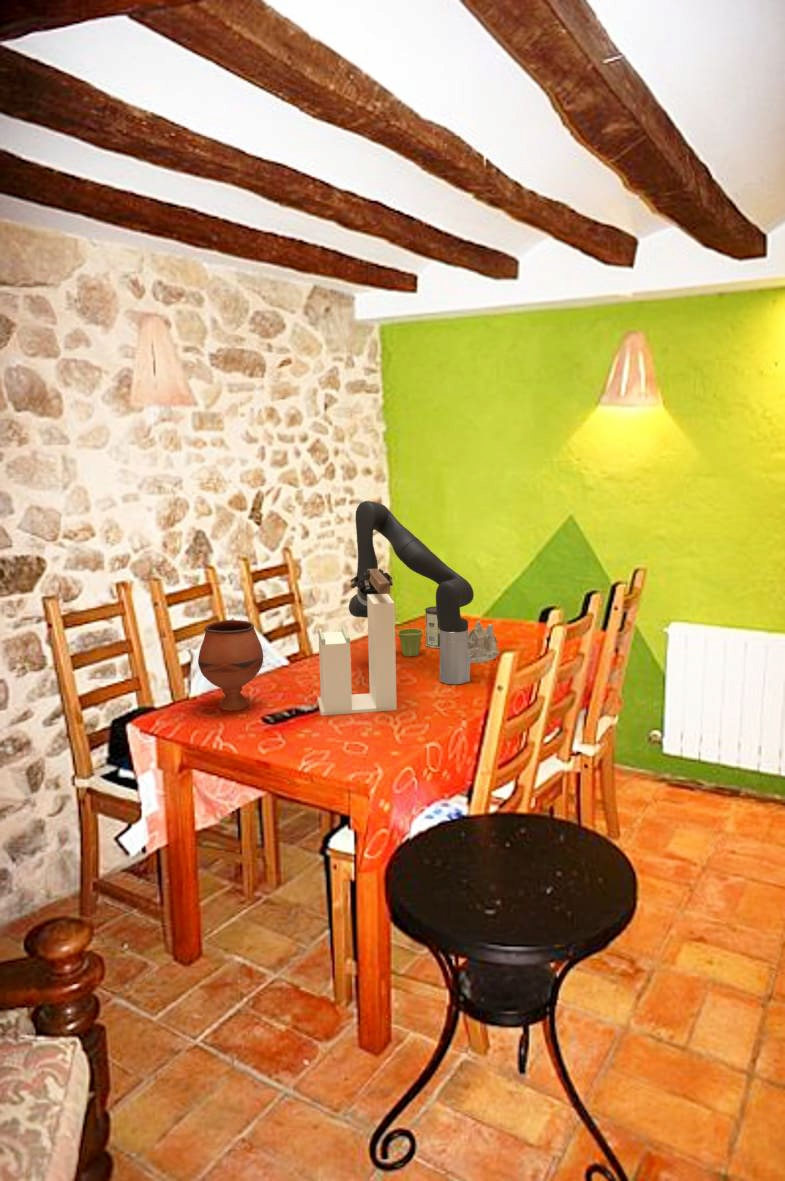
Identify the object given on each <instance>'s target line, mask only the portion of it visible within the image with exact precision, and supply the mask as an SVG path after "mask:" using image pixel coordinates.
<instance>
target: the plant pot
mask: <svg viewBox="0 0 785 1181" xmlns="http://www.w3.org/2000/svg"><path fill="white" fill-rule="evenodd" d="M396 633H397V634H398V638H399V642H400V646H401V654H402V655H403V656H404V657H416V656H419V655H420V649H421V642H422V637H423V634H424V630H423V629H420V628H403V629H400V630H397V632H396Z"/></svg>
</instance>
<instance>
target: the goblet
mask: <svg viewBox="0 0 785 1181" xmlns="http://www.w3.org/2000/svg"><path fill="white" fill-rule="evenodd" d="M204 631H205V632H204V637H203V640H202V643H201V646H200V650H199V654H198V658H197V659H198V660H197V663H198V668H199V670H200V672H201V674H202V675H203V677H204V678H205V679H206V680H207V681H208V682H209V683H210V684H212V685H214V686H216V687H217V688H220V689H221V691H222V693H223V694H224V697H223V698H222V700H221V701H220V703H219V705H218V706H219V708H220V709H221V710H224V711H229V712H231V711H240V710H243V709H246V708H247V707H249V700H248V699H247V698H246V697H245V696H244V695H243V694H242V693H241V692H242V691H243V687H244V686H246V685H247V684H249V683H250V682H251V681H252V680H253V679H255V677H256V676H257V675H258V673H259V671H260V670H261V668H262V666H263V663H264V651H263V648H262V643H261V641H260V639H259V636H258V634H257V632H256V630H255V625H254V624H253V623H252V622H250V621H247V620H239V619H224V620H219V621H216V622H212V623H209V624H207V625H205V627H204Z"/></svg>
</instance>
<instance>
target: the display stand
mask: <svg viewBox="0 0 785 1181" xmlns="http://www.w3.org/2000/svg"><path fill="white" fill-rule="evenodd" d="M395 606H396V605H395V602H394V600H393V599H392V598H391V596H389V594H367V608H368V618H367V636H368V638H367V640H368V641H367V642H368V645H367V647H368V675H369V676H368V678H369V679H368V680H369V681H368V682H369V684H368V685H369V693H356V694H354V693H353V694H352V690H353V689H352V688H353V687H352V664H351V663H352V662H351V661H352V660H351V637H350V635H349V633H348V630H347V628H346V626H341V631H330V632H323V628H321V627H319V628H317V629H318V630H317V632H318V633H317V634H318V635H317V636H318V656H319V658H318V659H319V661H318V662H319V679H320V680H319V682H320V696H317V703H318V708H319V712H320V713H319V714H320V716H333V715H346V714H347V715H350V714H360V713H361V714H362V713H377V712H388V711H389V712H390V711H397V662H396V614H395V612H396V611H395V609H396V608H395Z"/></svg>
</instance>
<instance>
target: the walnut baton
mask: <svg viewBox="0 0 785 1181" xmlns="http://www.w3.org/2000/svg"><path fill="white" fill-rule="evenodd" d="M378 570H379V568H378V569H370V578H369V581H370V582H371V584H372V585H373V586H374V587H375V589H376V590H377V591H378V593H379V594H388V595H389V594H391V586H390V582H389V581H388V580H387V579H386V578H385V577H384V576H383V575H382V574H381V573H380V572H379V571H378Z"/></svg>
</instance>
